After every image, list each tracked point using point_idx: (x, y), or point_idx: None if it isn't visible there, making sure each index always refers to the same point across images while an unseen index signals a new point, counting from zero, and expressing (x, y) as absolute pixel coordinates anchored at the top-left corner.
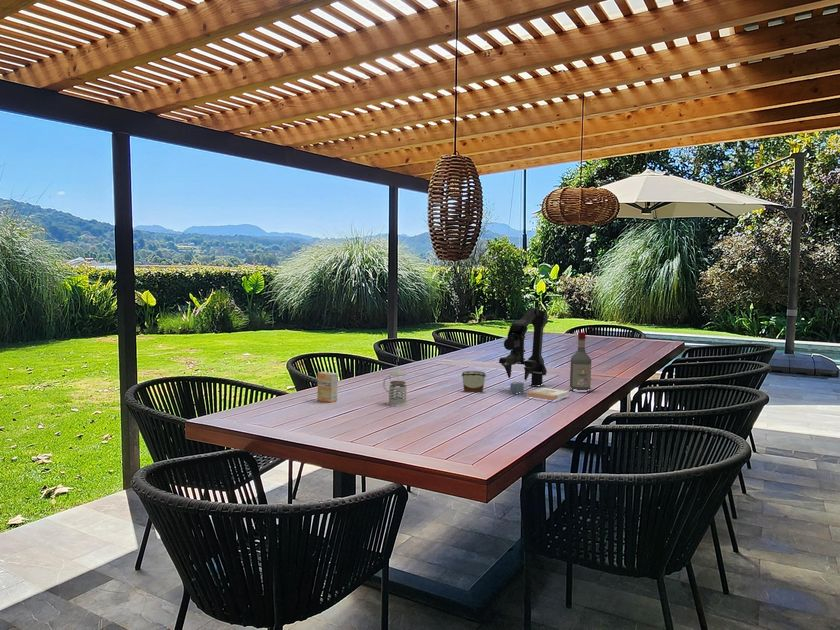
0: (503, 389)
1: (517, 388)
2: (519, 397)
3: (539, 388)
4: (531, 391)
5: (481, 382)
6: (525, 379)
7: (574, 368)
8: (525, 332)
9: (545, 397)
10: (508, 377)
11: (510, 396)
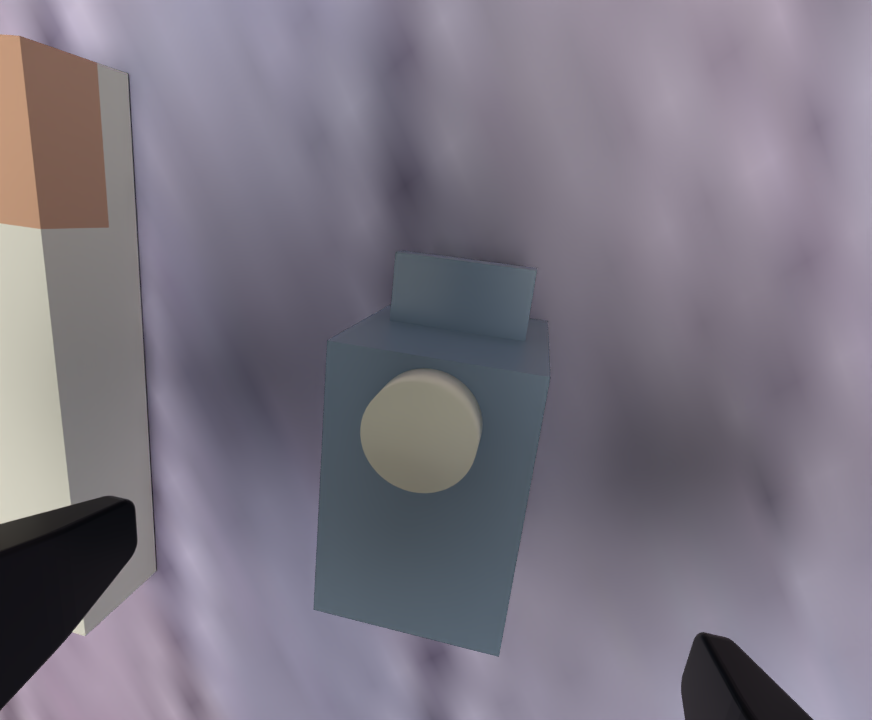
0: (794, 573)
1: (363, 322)
2: (249, 61)
3: None
4: (2, 179)
5: None
6: (79, 504)
7: None
8: None
9: None
10: (734, 645)
11: (419, 24)
